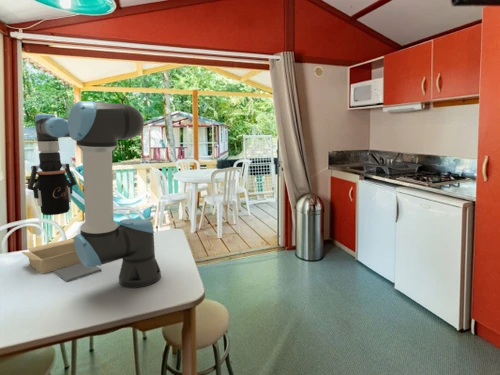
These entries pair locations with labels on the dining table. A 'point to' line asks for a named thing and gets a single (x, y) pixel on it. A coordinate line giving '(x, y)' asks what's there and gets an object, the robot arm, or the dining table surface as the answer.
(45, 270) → the carton
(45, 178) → the coffee jar
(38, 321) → the dining table surface
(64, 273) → the plate
